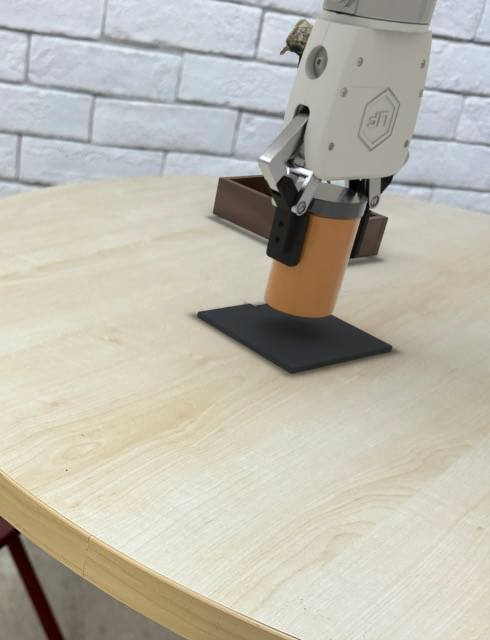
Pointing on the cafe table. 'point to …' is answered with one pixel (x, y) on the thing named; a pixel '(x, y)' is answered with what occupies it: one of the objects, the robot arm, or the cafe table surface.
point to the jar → (319, 255)
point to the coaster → (294, 336)
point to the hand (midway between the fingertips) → (312, 255)
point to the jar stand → (258, 211)
